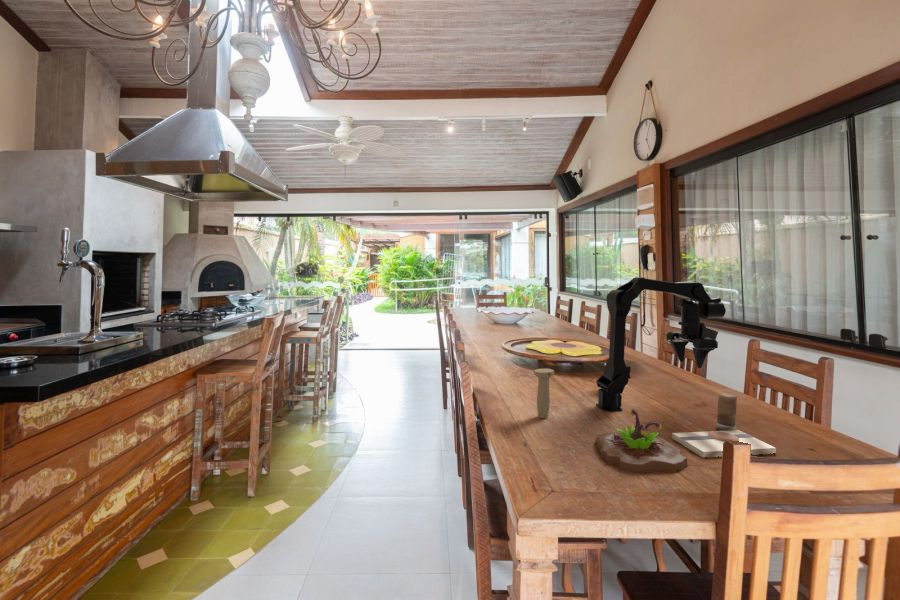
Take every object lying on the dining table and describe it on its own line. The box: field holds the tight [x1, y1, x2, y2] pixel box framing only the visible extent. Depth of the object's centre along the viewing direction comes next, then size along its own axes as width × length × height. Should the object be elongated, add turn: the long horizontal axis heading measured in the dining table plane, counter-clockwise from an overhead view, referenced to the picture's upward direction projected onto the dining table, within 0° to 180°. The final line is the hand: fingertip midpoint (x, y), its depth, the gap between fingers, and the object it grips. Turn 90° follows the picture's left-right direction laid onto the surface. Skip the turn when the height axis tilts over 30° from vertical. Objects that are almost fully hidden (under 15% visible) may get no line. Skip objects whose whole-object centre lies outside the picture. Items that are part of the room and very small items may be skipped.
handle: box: [533, 368, 555, 420], centre depth 132 cm, size 5×6×15 cm
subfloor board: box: [671, 429, 777, 459], centre depth 111 cm, size 20×12×2 cm, turn 96°
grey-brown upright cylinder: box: [716, 393, 738, 431], centre depth 122 cm, size 5×5×10 cm
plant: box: [595, 409, 688, 474], centre depth 106 cm, size 20×20×11 cm
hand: (690, 364), depth 142 cm, fingers open, 9 cm apart
